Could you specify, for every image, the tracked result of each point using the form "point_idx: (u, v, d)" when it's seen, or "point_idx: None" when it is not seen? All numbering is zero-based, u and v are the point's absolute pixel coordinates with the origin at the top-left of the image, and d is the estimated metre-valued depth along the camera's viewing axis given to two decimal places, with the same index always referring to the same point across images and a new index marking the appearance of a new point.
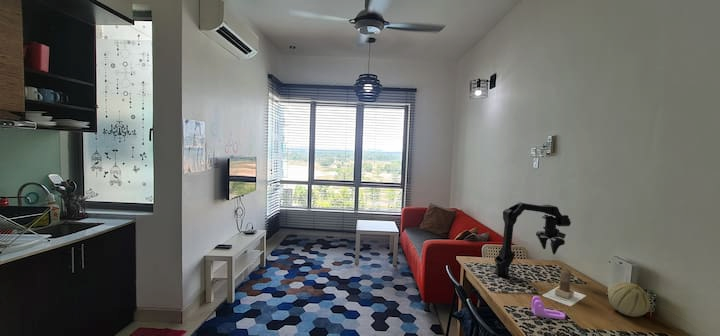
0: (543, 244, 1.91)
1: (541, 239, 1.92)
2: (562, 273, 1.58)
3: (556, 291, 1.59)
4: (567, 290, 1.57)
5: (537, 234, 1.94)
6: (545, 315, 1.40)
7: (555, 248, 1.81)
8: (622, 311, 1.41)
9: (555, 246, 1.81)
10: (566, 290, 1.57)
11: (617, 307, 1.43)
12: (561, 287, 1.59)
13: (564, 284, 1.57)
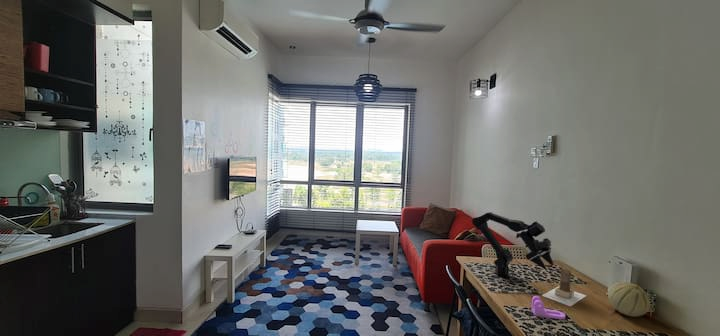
0: (548, 260, 1.70)
1: (543, 256, 1.73)
2: (562, 273, 1.58)
3: (556, 291, 1.59)
4: (567, 290, 1.57)
5: None
6: (545, 315, 1.40)
7: (539, 262, 1.64)
8: (622, 311, 1.41)
9: (537, 260, 1.65)
10: (566, 290, 1.57)
11: (617, 307, 1.43)
12: (561, 287, 1.59)
13: (564, 284, 1.57)
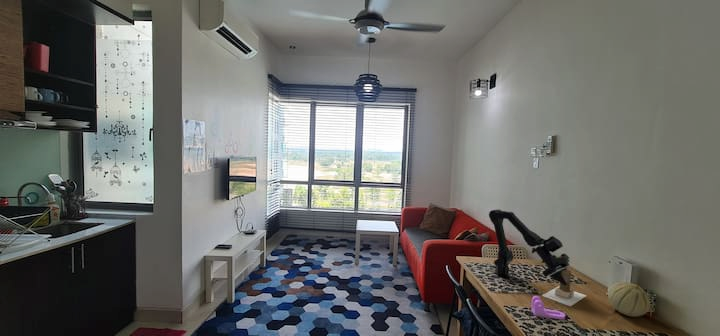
0: None
1: None
2: (562, 273, 1.58)
3: (556, 291, 1.59)
4: (567, 290, 1.57)
5: None
6: (545, 315, 1.40)
7: (559, 278, 1.58)
8: (622, 311, 1.41)
9: (557, 276, 1.59)
10: (566, 290, 1.57)
11: (617, 307, 1.43)
12: (561, 287, 1.59)
13: None
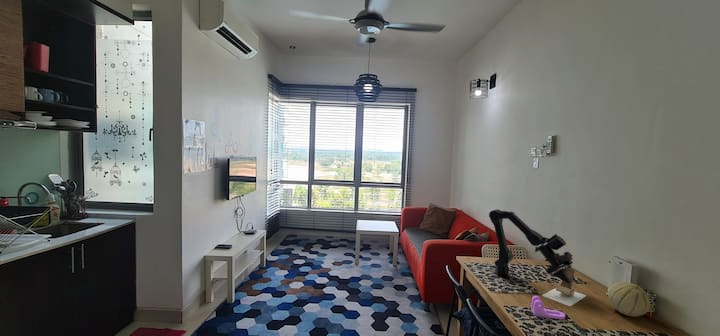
0: None
1: (563, 271, 1.66)
2: (566, 269, 1.61)
3: (557, 286, 1.60)
4: (568, 287, 1.58)
5: None
6: (545, 315, 1.40)
7: (562, 276, 1.59)
8: (622, 311, 1.41)
9: (560, 274, 1.60)
10: (568, 286, 1.58)
11: (617, 307, 1.43)
12: (563, 283, 1.60)
13: None
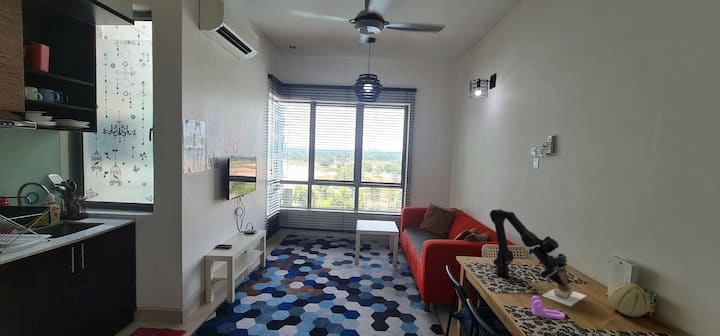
0: None
1: None
2: (558, 275, 1.56)
3: (555, 291, 1.59)
4: (565, 289, 1.57)
5: None
6: (545, 314, 1.40)
7: (557, 279, 1.55)
8: (622, 311, 1.41)
9: (555, 277, 1.56)
10: (564, 290, 1.57)
11: (617, 307, 1.43)
12: (559, 287, 1.58)
13: None
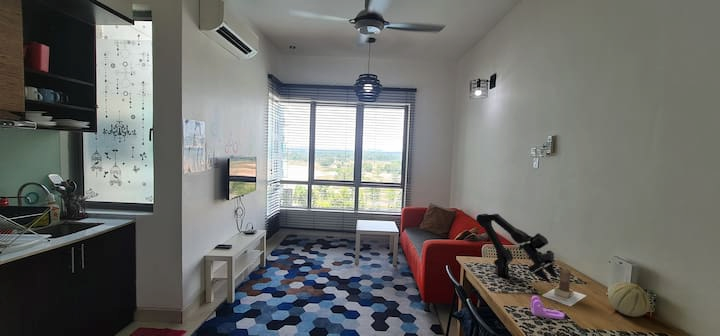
0: (551, 273, 1.69)
1: (546, 268, 1.71)
2: (561, 273, 1.59)
3: (555, 291, 1.60)
4: (566, 290, 1.58)
5: None
6: (544, 314, 1.40)
7: (542, 275, 1.63)
8: (622, 311, 1.41)
9: (540, 273, 1.63)
10: (565, 290, 1.58)
11: (617, 307, 1.43)
12: (560, 287, 1.59)
13: (563, 283, 1.58)
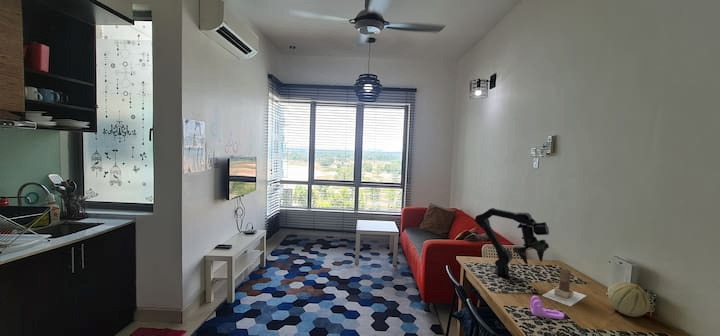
0: (539, 256, 1.77)
1: (537, 250, 1.78)
2: (561, 273, 1.59)
3: (555, 291, 1.60)
4: (566, 290, 1.58)
5: None
6: (544, 314, 1.40)
7: (523, 258, 1.74)
8: (622, 311, 1.41)
9: (522, 255, 1.75)
10: (565, 290, 1.58)
11: (617, 307, 1.43)
12: (560, 287, 1.59)
13: (563, 283, 1.58)
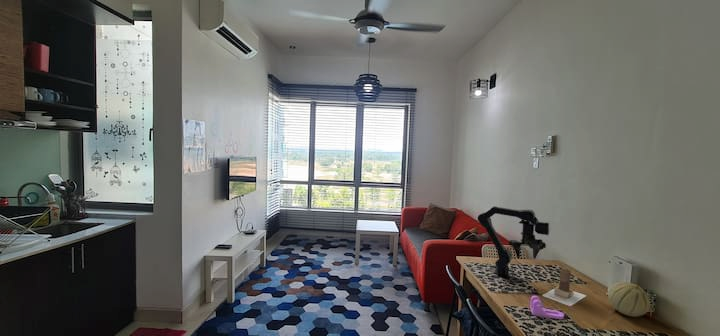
0: (533, 253, 1.79)
1: (533, 247, 1.80)
2: (561, 273, 1.59)
3: (555, 291, 1.60)
4: (566, 290, 1.58)
5: None
6: (544, 314, 1.40)
7: (516, 252, 1.78)
8: (622, 311, 1.41)
9: (516, 249, 1.78)
10: (565, 290, 1.58)
11: (617, 307, 1.43)
12: (560, 287, 1.59)
13: (563, 283, 1.58)
